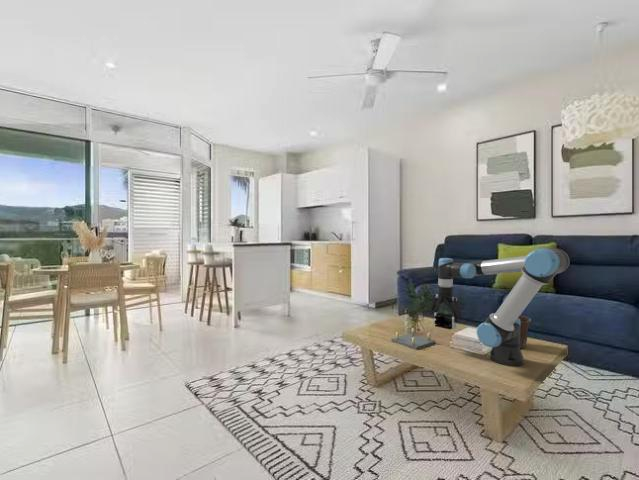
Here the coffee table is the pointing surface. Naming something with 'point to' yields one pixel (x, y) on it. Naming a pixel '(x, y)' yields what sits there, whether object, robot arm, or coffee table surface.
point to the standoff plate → (417, 341)
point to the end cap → (443, 321)
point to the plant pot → (524, 330)
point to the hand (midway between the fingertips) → (445, 326)
